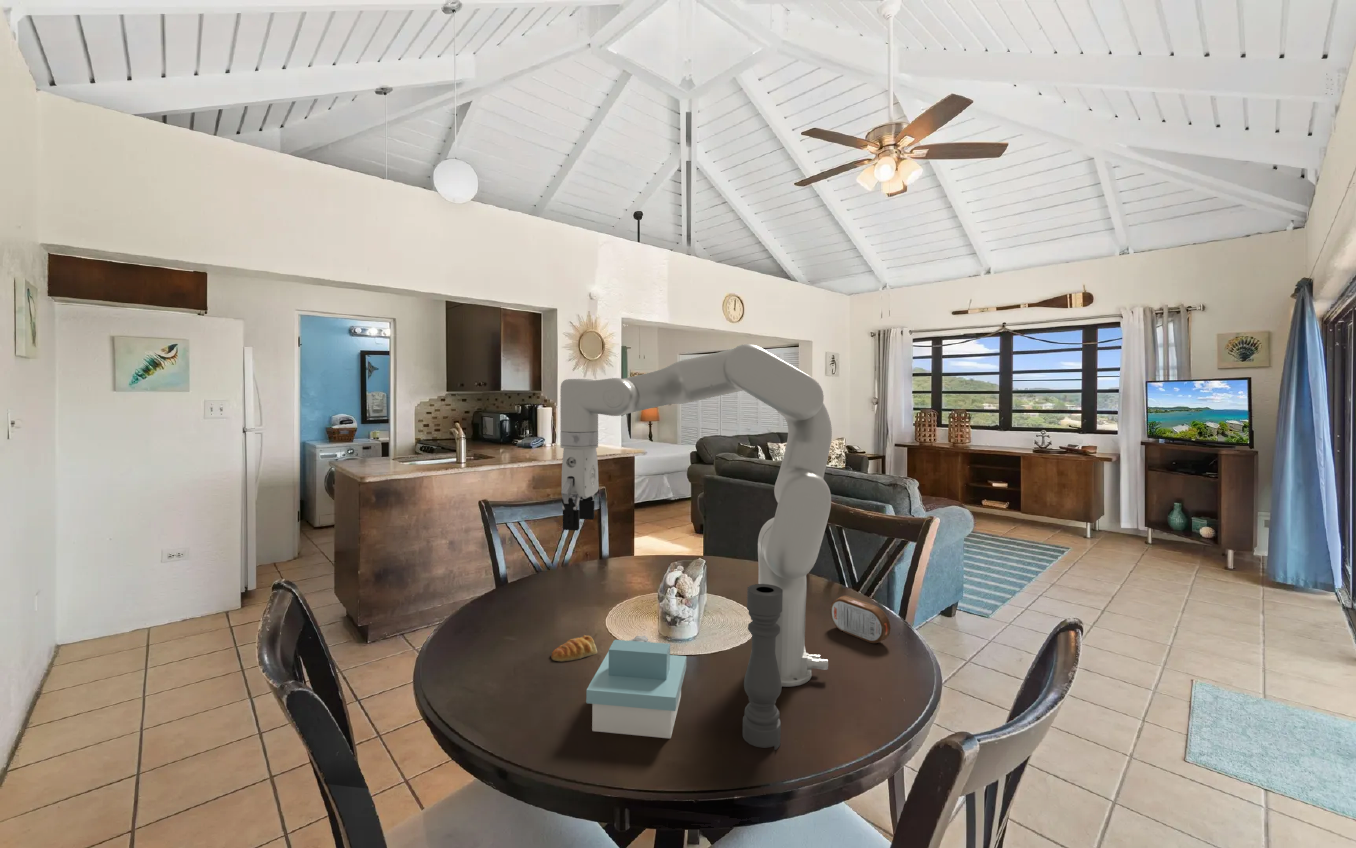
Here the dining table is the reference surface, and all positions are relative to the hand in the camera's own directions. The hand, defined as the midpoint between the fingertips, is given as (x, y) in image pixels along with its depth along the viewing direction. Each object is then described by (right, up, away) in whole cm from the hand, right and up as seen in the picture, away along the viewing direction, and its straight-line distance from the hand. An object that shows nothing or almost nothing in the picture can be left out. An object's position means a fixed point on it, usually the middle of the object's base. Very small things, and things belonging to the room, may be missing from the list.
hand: (579, 524), depth 117 cm
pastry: (-2, -30, +6) cm, 30 cm away
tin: (+62, -30, +19) cm, 72 cm away
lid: (+13, -25, -17) cm, 33 cm away
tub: (+13, -31, -17) cm, 37 cm away
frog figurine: (+12, -30, 0) cm, 32 cm away
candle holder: (+34, -31, -23) cm, 51 cm away
